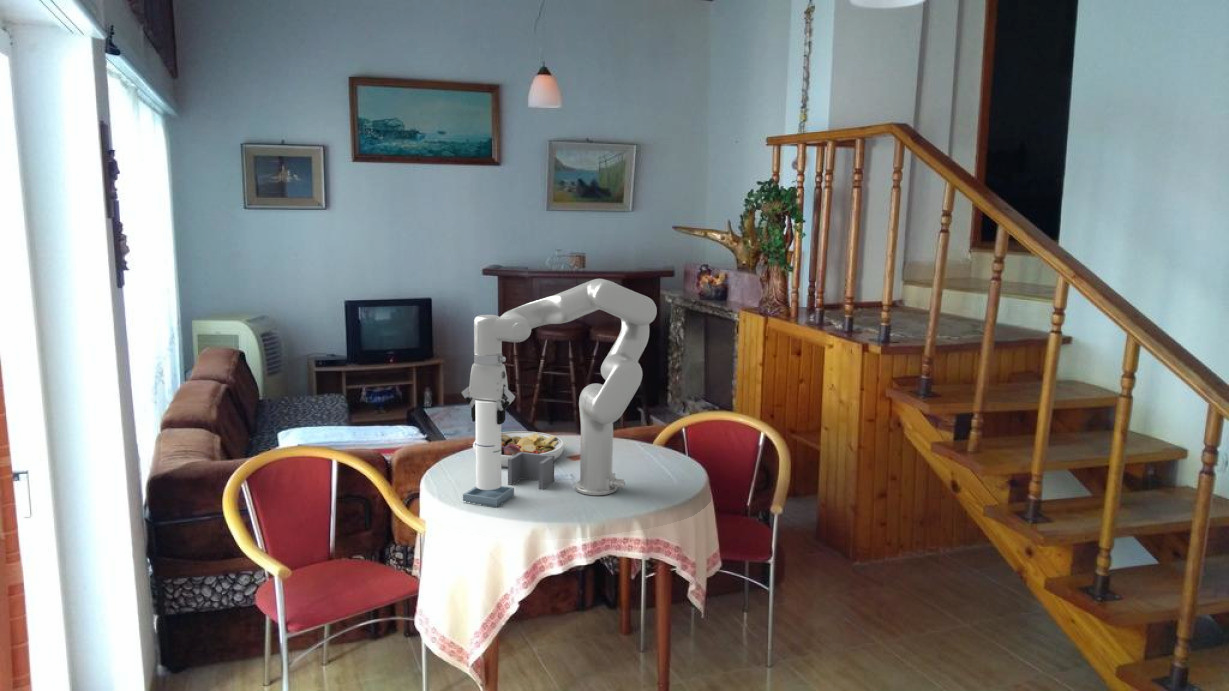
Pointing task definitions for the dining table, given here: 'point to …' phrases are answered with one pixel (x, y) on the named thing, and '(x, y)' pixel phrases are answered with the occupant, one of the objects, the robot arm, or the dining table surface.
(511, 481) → the bay
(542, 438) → the bowl
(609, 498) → the dining table surface
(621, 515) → the dining table surface
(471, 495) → the tray
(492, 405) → the cylindrical container
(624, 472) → the dining table surface
